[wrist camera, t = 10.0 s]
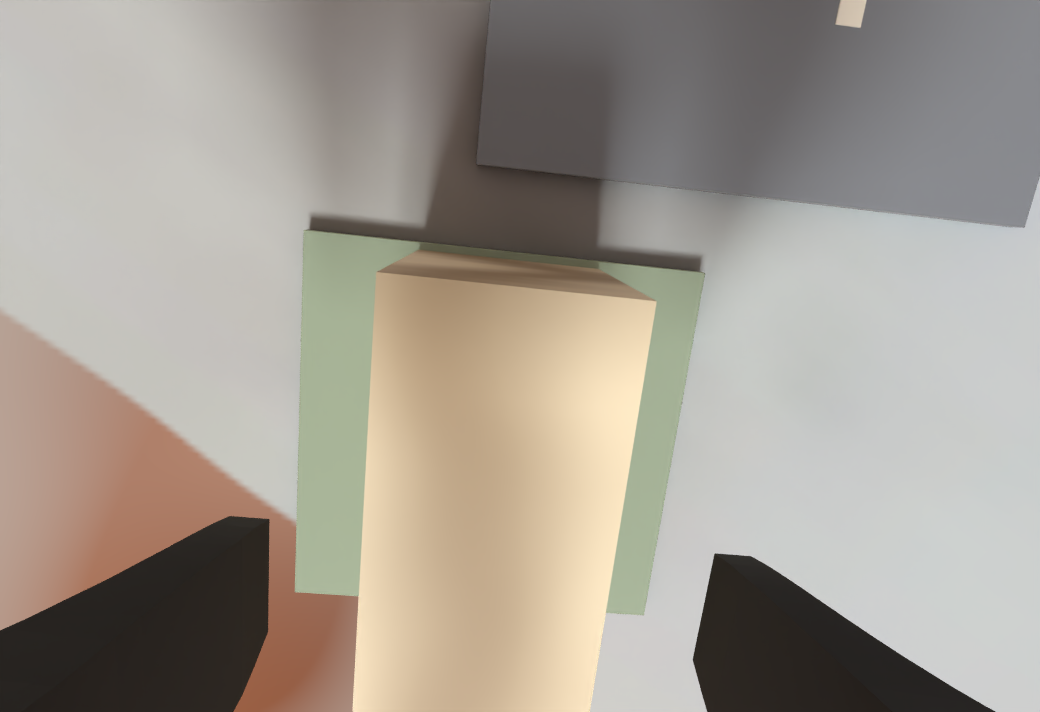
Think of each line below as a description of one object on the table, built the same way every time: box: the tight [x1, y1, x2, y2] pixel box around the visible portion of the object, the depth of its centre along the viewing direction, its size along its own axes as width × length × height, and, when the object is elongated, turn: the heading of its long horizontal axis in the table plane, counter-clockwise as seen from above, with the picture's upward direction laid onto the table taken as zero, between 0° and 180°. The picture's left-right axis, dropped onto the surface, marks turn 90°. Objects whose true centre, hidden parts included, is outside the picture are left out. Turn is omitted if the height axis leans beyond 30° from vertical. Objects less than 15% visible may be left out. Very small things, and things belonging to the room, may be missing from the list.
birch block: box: [353, 250, 657, 712], centre depth 13 cm, size 4×9×6 cm, turn 174°
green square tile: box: [295, 230, 705, 615], centre depth 16 cm, size 10×10×1 cm
